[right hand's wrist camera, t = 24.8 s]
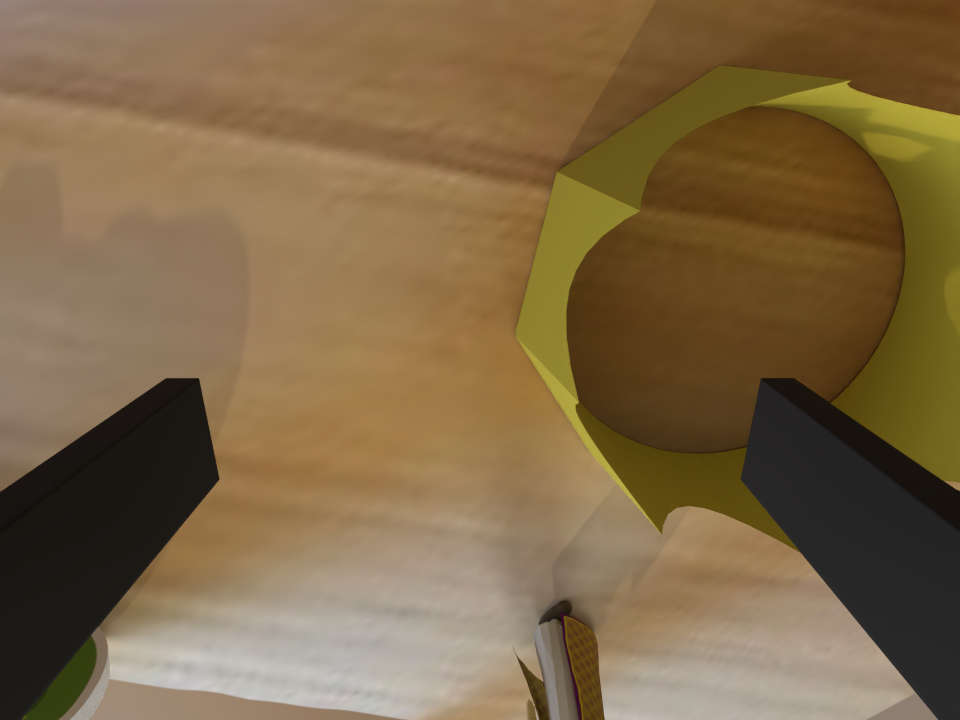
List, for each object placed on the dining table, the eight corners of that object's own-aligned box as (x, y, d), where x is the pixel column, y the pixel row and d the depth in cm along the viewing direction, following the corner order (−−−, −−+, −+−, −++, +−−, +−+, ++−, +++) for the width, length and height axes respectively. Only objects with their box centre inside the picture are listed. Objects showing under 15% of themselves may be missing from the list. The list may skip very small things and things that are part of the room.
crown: (916, 450, 50) (1087, 562, 36) (541, 504, 52) (564, 630, 38) (974, 15, 38) (1269, -72, 24) (479, 111, 40) (478, 83, 26)
